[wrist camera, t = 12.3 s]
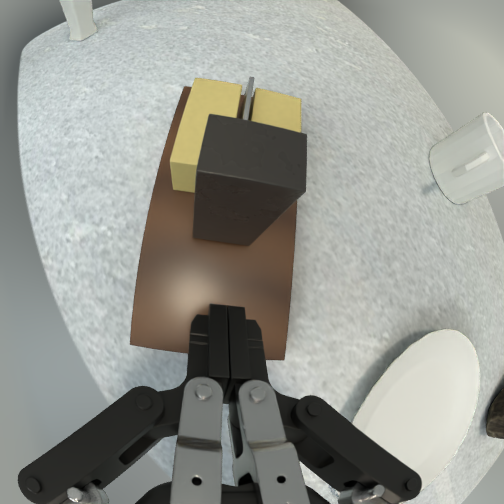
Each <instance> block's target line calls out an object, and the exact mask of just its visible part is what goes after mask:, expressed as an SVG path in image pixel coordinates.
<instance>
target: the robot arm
mask: <svg viewBox="0 0 504 504" xmlns="http://www.w3.org/2000/svg"><path fill="white" fill-rule="evenodd" d="M262 340H263V339H262V332H261V328H260V327H259V325H258V323H257V322H256V320H252V319H246V314H245V307H240V306H231V305H221V304H212V303H210V305H209V311H208V315H201V314H196V316H195V317H194V319H193V320H192V322H191V329H190V340H189V352H188V365H187V376H186V379H185V380H184V382H183V383H182V384H181V385H180V386H178V387H177V388H174V389H171V390H165V391H159V392H157V391H156V390H155V389H153V388H151V387H147V386H138V387H135V388H133V389H131V390H130V391H128V392H127V393H126V394H125V395H123V396H122V397H121V398H119V399H118V400H117V401H115V402H114V403H113V404H112V405H110V406H109V407H108V408H106V409H105V410H104V411H102V412H101V413H100V414H98V415H97V416H96V417H95V418H93V419H92V420H91V421H89V422H88V423H87V424H85V425H84V426H83V427H81V428H80V429H78V430H77V431H76V432H74V433H73V434H72V435H70V436H69V437H68V438H66V439H65V440H63V441H62V442H61V443H59V444H58V445H57V446H55V447H53V448H52V449H51V450H49V451H48V452H47V453H45V454H44V455H42V456H41V457H39V458H38V459H36V460H35V461H34V462H32V463H31V464H29V465H28V466H26V467H25V468H23V469H22V470H21V471H20V473H19V475H18V484H19V487H20V490H21V492H22V493H23V494H24V496H25V497H26V498H27V499H28V500H30V501H31V502H33V503H35V504H109V498H108V496H107V494H106V493H105V491H104V490H103V488H105V487H106V486H107V485H108V484H110V483H111V482H112V481H113V480H115V479H116V478H117V477H118V476H120V475H121V474H122V473H123V472H124V471H126V470H127V469H128V468H129V467H130V466H131V465H133V464H134V463H135V462H136V461H138V459H140V458H141V457H142V456H143V455H144V454H146V453H147V452H148V451H149V450H150V449H151V448H152V447H154V446H155V445H156V444H157V443H158V442H159V441H160V440H161V439H162V438H164V437H169V436H174V435H178V437H177V442H176V448H175V456H174V465H173V475H172V481H171V482H167V483H163V484H160V485H158V486H156V487H154V488H152V489H151V490H149V491H148V492H147V493H146V494H145V495H144V496H143V497H142V498H141V499H139V500H138V501H137V502H136V503H135V504H330V503H329V502H328V501H327V500H325V499H324V498H323V497H322V496H320V495H319V494H318V493H317V492H316V491H314V490H313V489H311V488H310V487H308V486H306V485H305V482H304V478H303V475H302V471H301V467H300V463H299V461H301V462H302V463H303V464H304V465H305V466H306V467H308V468H309V469H310V470H311V471H313V472H314V473H315V474H316V475H317V476H319V477H320V478H321V479H323V480H324V481H325V482H326V483H328V484H329V485H330V486H332V487H333V488H334V489H336V490H337V491H338V492H340V495H339V499H338V503H339V504H399V503H401V502H405V501H408V500H411V499H413V498H415V497H416V496H417V495H418V494H419V493H420V491H421V488H422V479H421V477H420V475H419V474H418V473H417V472H415V471H414V470H412V469H411V468H410V467H408V466H407V465H405V464H404V463H403V462H401V461H400V460H398V459H397V458H396V457H394V456H393V455H392V454H390V453H389V452H388V451H386V450H385V449H384V448H382V447H381V446H380V445H378V444H377V443H376V442H374V441H373V440H372V439H371V438H369V437H368V436H367V435H365V434H364V433H363V432H362V431H360V430H359V429H358V428H357V427H355V426H354V425H353V424H352V423H350V422H349V421H348V420H347V419H346V418H344V417H343V416H342V415H341V414H339V413H338V412H337V411H336V410H335V409H334V408H332V407H331V406H330V405H329V404H328V403H326V402H325V401H324V400H323V399H321V398H320V397H317V396H312V395H310V396H305V397H303V398H301V399H300V400H299V399H296V398H292V397H288V396H285V395H282V394H280V393H278V392H277V391H276V390H274V389H273V387H272V386H271V385H270V383H269V380H268V374H267V367H266V360H265V353H264V346H263V341H262ZM223 404H229V415H228V419H227V420H228V428H229V435H230V442H231V449H232V455H233V465H232V470H233V478H234V484H235V486H230V485H225V484H221V482H222V446H221V427H222V407H223Z"/></svg>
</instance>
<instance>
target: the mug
mask: <svg viewBox="0 0 504 504" xmlns="http://www.w3.org/2000/svg"><path fill="white" fill-rule="evenodd" d="M429 160H430V166H431V170H432V172H433V175H434V178H435V180H436V182H437V184H438V186H439V188H440V189H441V190H442V192H443V193H444V195H445V196H446V197H447V198H448V199H449V200H450V201H451V202H453V203H455V204H464V203H466V202H468V201H471V200H473V199H476V198H478V197H480V196H483V195H485V194H487V193H490V192H492V191H494V190H497V189H499V188H501V187H503V186H504V130H503V128H502V127H501V125H500V124H499V123H498V121H497V120H496V119H495V118H494V117H493V116H492V115H491V114H489V113H487V112H484V113H482V114H480V115H479V116H478V117H476V118H475V119H473V120H472V121H470V122H469V123H467V124H466V125H464V126H463V127H461V128H460V129H458V130H457V131H455V132H454V133H452V134H451V135H449V136H448V137H446V138H445V139H443V140H442V141H440V142H439V143H437V144H436V145H434V146H433V147H432V149H431V151H430V156H429Z"/></svg>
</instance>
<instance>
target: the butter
mask: <svg viewBox="0 0 504 504" xmlns="http://www.w3.org/2000/svg"><path fill="white" fill-rule="evenodd" d="M241 91H242V85H239V84H234V83H228V82H222V81H216V80H209V79H202V78H195V80H194V83H193V86H192V88H191V91H190V94H189V97H188V100H187V103H186V107H185V110H184V113H183V116H182V119H181V123H180V126H179V129H178V133H177V136H176V140H175V143H174V147H173V151H172V155H171V158H170V167H171V175H172V184H173V190H179V191H186V192H193V193H195V178H196V168H197V163H198V159H199V154H200V150H201V145H202V141H203V136H204V132H205V128H206V124H207V120H208V116H209V114H216V115H222V116H228V117H233V118H237V113H238V107H239V102H240V96H241ZM248 120H249V121H254V122H259V123H263V124H268V125H272V126H276V127H281V128H285V129H289V130H293V131H296V132H300V133H301V99H299V98H296V97H292V96H288V95H285V94H281V93H277V92H273V91H268V90H264V89H260V88H256V89H255V92H254V95H253V98H252V100H251V103H250V110H249V116H248Z"/></svg>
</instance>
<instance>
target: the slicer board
mask: <svg viewBox="0 0 504 504" xmlns="http://www.w3.org/2000/svg"><path fill="white" fill-rule="evenodd" d="M191 88H192V87H187V86H184V89H183V91H182V94H181V97H180V100H179V103H178V106H177V109H176V112H175V115H174V118H173V121H172V124H171V127H170V130H169V133H168V137H167V140H166V144H165V147H164V150H163V154H162V158H161V161H160V165H159V169H158V173H157V177H156V181H155V185H154V189H153V193H152V198H151V202H150V206H149V211H148V216H147V221H146V226H145V231H144V236H143V242H142V247H141V253H140V259H139V266H138V273H137V280H136V287H135V295H134V304H133V313H132V324H131V336H130V345H135V346H140V347H146V348H152V349H159V350H165V351H172V352H180V353H188V352H189V340H190V329H191V322H192V320H193V319H194V317H195V316H196V314H201V315H208V311H209V305H210V303H212V304H221V305H231V306H240V307H245V314H246V319H252V320H256V322H257V323H258V325H259V327H260V328H261V332H262V339H263V340H262V341H263V346H264V353H265V360H284V359H285V350H286V341H287V331H288V321H289V311H290V300H291V288H292V275H293V262H294V248H295V232H296V214H297V200H296V201H295V202H294V203H293V204H292V205H291V206H290V207H289V208H288V209H287V210H286V211H285V212H284V213H283V214H282V215H281V216H280V217H279V218H278V219H277V220H276V221H275V222H274V223H272V224H271V225H270V226H269V227H268V228H267V229H266V230H265V231H264V232H263V233H262V234H261V235H260V236H259V237H258V238H257V239H256V240H255V241H254V242H253V243H252V244H251V245H250V246H246V245H239V244H233V243H226V242H219V241H212V240H205V239H198V238H193V214H194V194H195V193H193V192H186V191H179V190H173V184H172V175H171V167H170V158H171V155H172V151H173V147H174V143H175V140H176V136H177V133H178V129H179V126H180V123H181V119H182V116H183V113H184V110H185V107H186V103H187V100H188V97H189V94H190V91H191ZM243 97H244V95H241V96H240V102H239V107H238V113H239V110H240V107H241V103H242V100H243ZM252 98H253V97H251V100H252ZM238 113H237V118H238Z"/></svg>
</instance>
